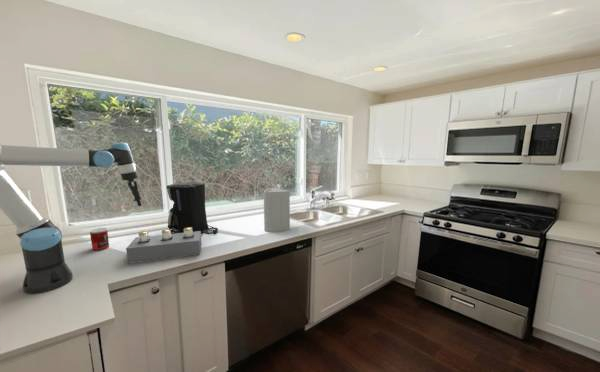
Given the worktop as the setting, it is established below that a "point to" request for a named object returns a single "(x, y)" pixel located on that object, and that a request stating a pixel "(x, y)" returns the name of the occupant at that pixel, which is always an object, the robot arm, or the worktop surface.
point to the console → (164, 247)
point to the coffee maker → (188, 208)
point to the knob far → (188, 232)
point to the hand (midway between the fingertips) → (140, 208)
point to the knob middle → (166, 234)
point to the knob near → (143, 237)
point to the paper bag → (276, 210)
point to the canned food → (99, 239)
